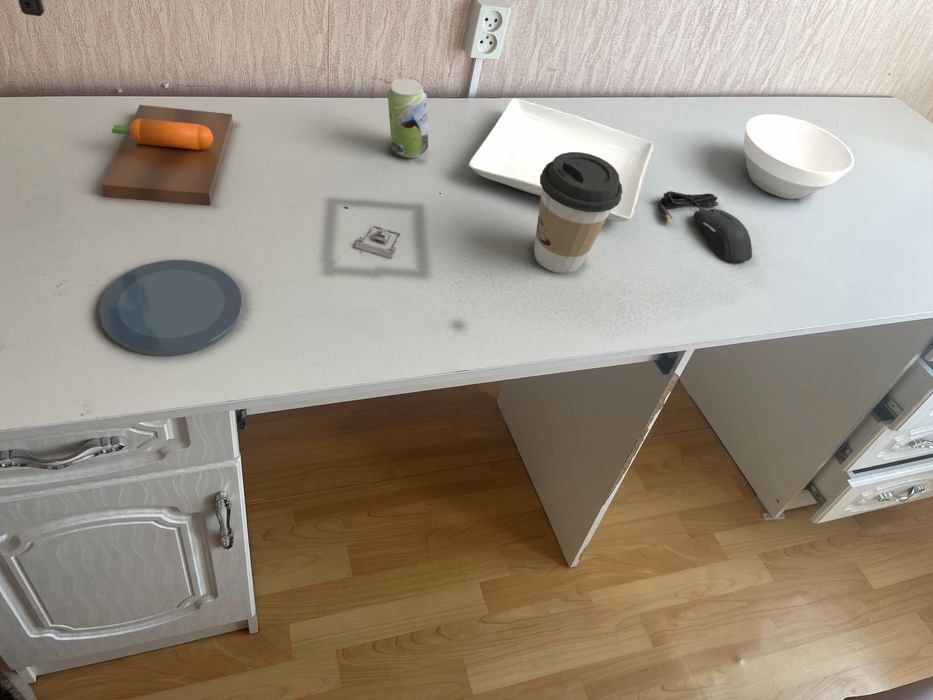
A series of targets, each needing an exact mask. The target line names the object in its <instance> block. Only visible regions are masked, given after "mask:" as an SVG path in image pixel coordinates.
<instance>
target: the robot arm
mask: <svg viewBox="0 0 933 700" xmlns="http://www.w3.org/2000/svg"><path fill="white" fill-rule="evenodd" d="M18 4H19V8H20V11H21V13H23V14H24V15H28V16H35V17H41V16H43V14H44V13H45V7H44V3H43V0H18Z"/></svg>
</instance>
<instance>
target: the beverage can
mask: <svg viewBox="0 0 933 700" xmlns="http://www.w3.org/2000/svg"><path fill="white" fill-rule="evenodd" d="M427 95H428V94H427V90H426V89H425V88H424V86H423V83H422V82H421V81H420V80H418V79H416V78H412V77H402V78H397V79H395V80H394V81H393V82H391V84H390V88H389V90H388V93H387V103H388V104H387V105H388V117H389V129H390V140H391V141H390V142H391V143H390V144H391V150H392V151H393V152H394V153H395V154H397V155H399V156H401V157H403V158H409V159H411V158H416V157H419V156H421V155H422V154H424V153H425V152H426V151H427V150H428V148H429V130H428V128H429V127H428V125H429V124H428V98H427V97H428V96H427Z"/></svg>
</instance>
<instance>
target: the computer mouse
mask: <svg viewBox="0 0 933 700" xmlns="http://www.w3.org/2000/svg"><path fill="white" fill-rule="evenodd" d="M717 200H718V196H716V195H715V194H713V193H701V194H687V193H686V194H685V193H681V192H677V191H673V190H672V191H671V190H669V191H667V192H664V193H663V196H662V197H661V198H660V200H658V204H657V208H658V210H659V212H660V213H661V215H662V216H663V218H664V219H665V220H666V221H668V222H669V224H673V223H674V221H673V217H672V215H671V214H670V213H669V211H668V210H672V209H676V208H682V207H685V206H690V207H691V206H696V207H697V208H698V210H695V212H694V213H693V216H692V217H693V221H694V224H695V225H696V227H697V228H698V229H699V230H700V231H701V232H702V233H703V235H704V237H705V238H706V240H707V242H708V244H709V246H710V247H711V249H712V250H713V252H714V253H715V254H716V255H718V256H719V258H722V259H723V260H725V261H728V262H732V263H744V262H747V261H749V260H751V259H752V258H753V247H752V240H751V236H750V234H749V231H748V229H747V228H746V226H745V225H744V224H743V222H742V221H740V219H738V218H737V217H736V216H734V215H732V214H731V213H729V212H726V211H724V210H722V209H718V208H713V207H717V206H719V202H717ZM702 207H709V208H708V209H706V208H702ZM711 207H712V208H711ZM667 209H668V210H667Z"/></svg>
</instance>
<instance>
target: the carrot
mask: <svg viewBox="0 0 933 700" xmlns="http://www.w3.org/2000/svg"><path fill="white" fill-rule="evenodd" d="M131 122H132V121H131ZM131 122H130V124H131V125H130V124H129V126H128V125H120V124H119V125H118V124H115V125H114V126H113V127H112V128H111V132H112V134H119V135H126V134H128V135H130V136H131V138H132V139H133V140H134V141H135V142H137V143H139V144H143V145H153V146H164V147H175V148H186V149H196V150H205V149H207V148H209V147H210V146H211V145H212V143H213V134H212V132H211V131H210V129H209V128H207V127H206V126H204V125H199V124H189V123H179V122H169V121H159V120H149V119H137V120H135V121H133V122H132V123H131Z"/></svg>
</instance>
